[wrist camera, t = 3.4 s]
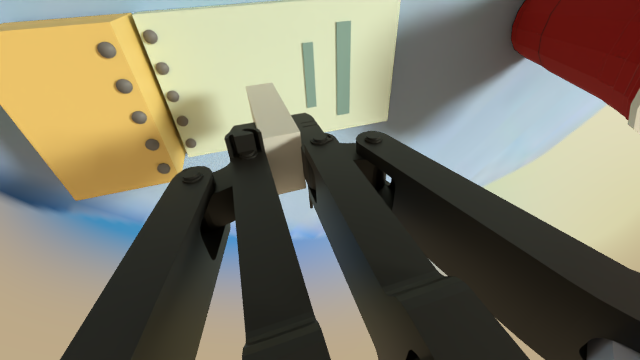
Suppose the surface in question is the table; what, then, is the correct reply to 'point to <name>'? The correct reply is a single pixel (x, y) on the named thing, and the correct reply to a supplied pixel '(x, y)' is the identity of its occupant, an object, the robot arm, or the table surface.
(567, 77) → the plastic cup
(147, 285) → the robot arm
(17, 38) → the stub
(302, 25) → the pale green flat block
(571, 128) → the table surface
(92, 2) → the table surface
